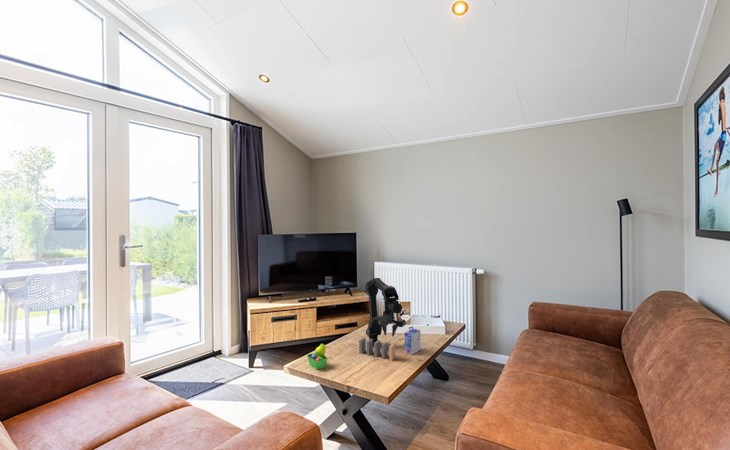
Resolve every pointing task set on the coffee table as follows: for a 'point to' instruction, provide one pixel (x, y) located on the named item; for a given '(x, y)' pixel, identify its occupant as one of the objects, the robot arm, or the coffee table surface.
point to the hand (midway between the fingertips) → (389, 335)
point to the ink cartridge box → (412, 341)
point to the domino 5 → (392, 351)
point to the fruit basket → (318, 357)
